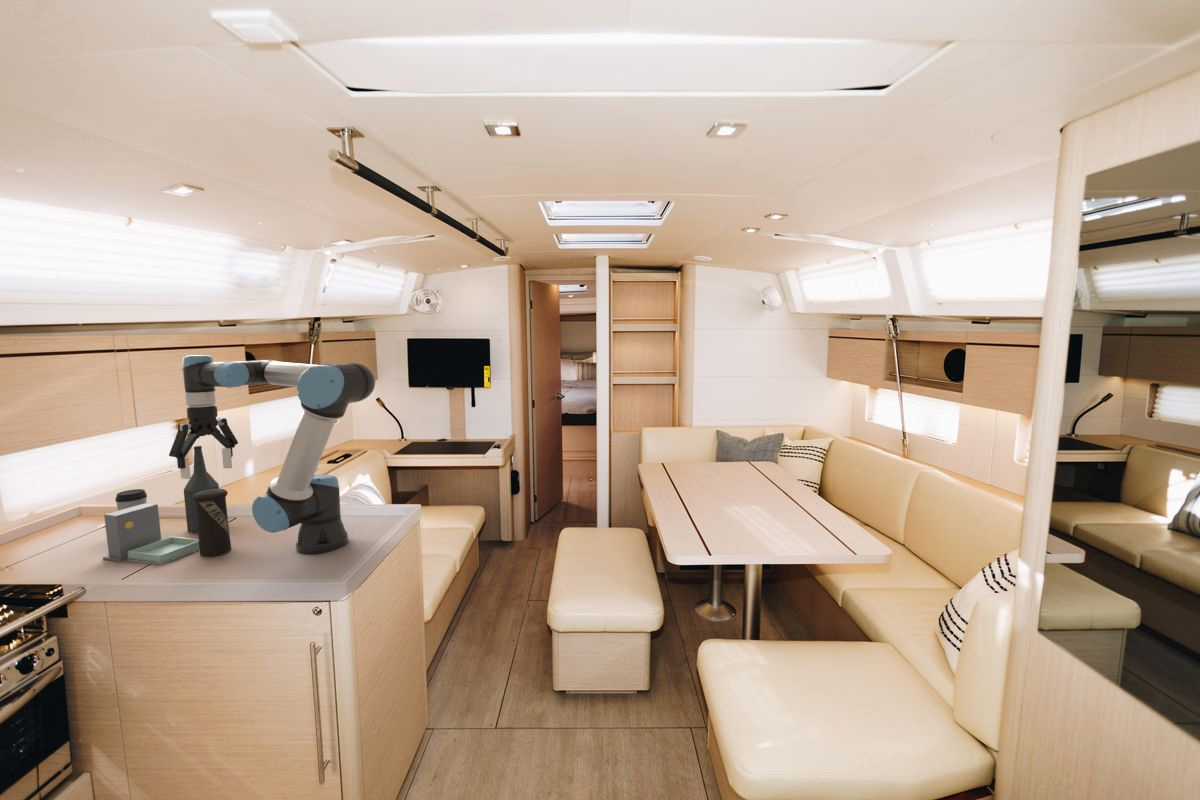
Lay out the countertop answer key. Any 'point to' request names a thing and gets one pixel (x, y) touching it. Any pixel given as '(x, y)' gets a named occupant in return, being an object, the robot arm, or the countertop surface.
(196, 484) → the bottle
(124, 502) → the coffee cup
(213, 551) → the container
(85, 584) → the countertop surface
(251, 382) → the robot arm
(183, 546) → the tray
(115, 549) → the box
